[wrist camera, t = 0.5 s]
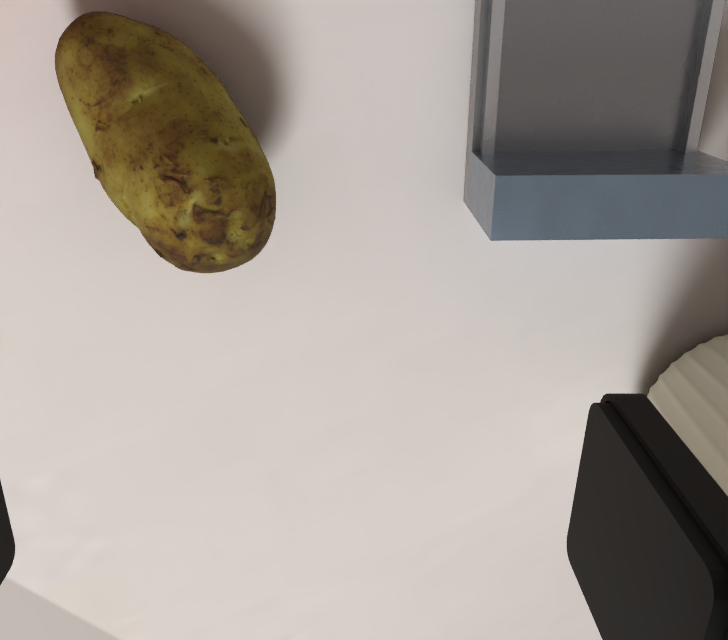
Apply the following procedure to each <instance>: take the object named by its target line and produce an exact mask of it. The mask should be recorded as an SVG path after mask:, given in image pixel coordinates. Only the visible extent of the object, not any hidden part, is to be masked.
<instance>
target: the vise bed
mask: <svg viewBox="0 0 728 640" xmlns="http://www.w3.org/2000/svg"><path fill="white" fill-rule="evenodd" d="M725 1H726V0H475V17H474V34H473V51H472V68H471V85H470V102H469V119H468V136H467V153H466V170H465V188H464V202H465V204H466V205H467V207H468V208H469V210H470V211H471V213H472V214H473V216H474V217H475V218H476V220H477V221H478V223H479V224H480V226H481V227H482V229H483V230H484V232H485V233H486V234H487V236H488V237H489V239H490V240H491V241H496V240H594V239H692V238H728V162H727V161H724V160H721V159H718V158H716V157H713V156H710V155H708V154H705V153H702V152H700V151H697V148H698V143H699V137H700V132H701V127H702V122H703V116H704V111H705V106H706V101H707V95H708V90H709V85H710V80H711V74H712V69H713V64H714V59H715V53H716V48H717V43H718V38H719V32H720V27H721V22H722V17H723V11H724V6H725Z"/></svg>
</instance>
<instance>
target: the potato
mask: <svg viewBox="0 0 728 640" xmlns="http://www.w3.org/2000/svg"><path fill="white" fill-rule="evenodd" d="M55 70H56V75H57V79H58V83H59V86H60V89H61V91H62V94H63V97H64V99H65V102H66V105H67V107H68V110H69V112H70V115H71V117H72V119H73V122H74V124H75V126H76V128H77V130H78V132H79V135H80V137H81V139H82V142H83V144H84V146H85V149H86V151H87V153H88V156H89V158H90V160H91V163H92V165H93V167H94V174H95V178H96V179H98V180H99V181H100V183H101V185H102V187H103V189H104V190H105V192H106V193H107V195H108V197H109V198H110V199H111V201H112V202H113V203H114V204H115V206H116V207H117V208H118V209H119V210H120V211H121V212H122V214H123V215H124V216H125V217H126V218H127V219H128V220H130V221H131V222H132V223H133V224H134V225H135V226H137V227H138V228H139V229H140V231H141V233H142V235H143V236H144V238H145V239H146V241H147V242H148V243H149V245H150V246H151V247H152V248H153V249H154V250H155V251H156V253H157V254H158V255H159V256H160V257H162V258H163V259H165V260H166V261H168V262H169V263H171V264H173V265H174V266H175V267H177V268H179V269H181V270H184V271H191V272H197V273H214V272H222V271H226V270H229V269H232V268H235V267H238V266H240V265H242V264H244V263H246V262H248V261H250V260H252V259H253V258H254V257H255V256H256V255H257V254H259V253H260V251H261V250H262V249H263V248H264V246H265V245H266V243H267V241H268V239H269V237H270V234H271V232H272V229H273V225H274V220H275V212H276V191H275V183H274V178H273V175H272V172H271V169H270V166H269V163H268V161H267V159H266V156H265V155H264V152H263V150H262V148H261V146H260V144H259V142H258V141H257V139H256V137H255V135H254V133H253V131H252V130H251V128H250V126H249V125H248V123H247V122H246V120H245V119H244V117H243V116H242V115H241V113H240V112H239V110H238V109H237V108H236V106H235V105H234V103H233V102H232V100H231V97H230V95H229V94H228V92H227V90H226V89H225V87H224V85H223V84H222V82H221V81H220V80H219V79H218V78H217V76H216V75H215V74H214V73H213V72H212V71H211V70H210V69H209V68H208V66H207V65H206V64H205V63H204V62H203V61H202V60H201V59H200V58H199V57H198V56H197V55H196V54H195V53H194V52H193V51H191V50H190V49H189V48H188V47H187V46H185V45H184V44H183V43H182V42H180V41H179V40H177V39H176V38H174V37H173V36H172V35H170V34H168V33H167V32H164V31H162V30H160V29H157V28H155V27H153V26H150V25H146V24H143V23H140V22H138V21H135V20H132V19H129V18H126V17H123V16H121V15H117V14H112V13H108V12H90V13H86V14H84V15H82V16H80V17H78V18H77V19H75V20H74V21H73V22H72V23H71V24H70V25H69V26H68V27H67V28H66V30H65V31H64V32H63V34H62V35H61V37H60V39H59V42H58V45H57V49H56V53H55Z"/></svg>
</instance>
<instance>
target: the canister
mask: <svg viewBox="0 0 728 640" xmlns="http://www.w3.org/2000/svg"><path fill="white" fill-rule="evenodd" d="M647 398H648V399H649V400H650V401H651V402H652V404H653V405H654V406H655V407H656V409H657V410H658V411H659V412H660V414H661V415H662V416H663V417H664V418H665V420H666V421H667V422H668V423H669V425H670V426H671V427H672V428H673V429H674V431H675V432H676V433H677V434H678V436H679V437H680V438H681V439H682V441H683V442H684V443H685V444H686V445H687V447H688V448H689V449H690V450H691V452H692V453H693V454H694V455H695V456H696V458H697V459H698V460H699V461H700V463H701V464H702V465H703V466H704V468H705V469H706V470H707V471H708V472H709V474H710V475H711V476H712V477H713V479H714V480H715V481H716V482H717V483H718V485H719V486H720V487H721V488H722V490H723V491H724V492H725V493H726V495H727V496H728V334H727V335H724V336H720V337H719V336H718V337H714V338H713V339H711V340H710V341H708V342H706V343H701V344H698V345H697V347H695V348H694V349H692V350H690V351H688V352H685V353H684V354H683V355H682V356H681V357H680V358H679V359H678V360H677V361H675V362H672V363H671V364H670V366H669V368H668V369H667V370H666V371H665V372H663V373H662V374H660V375H659V378H658V380H657V382H656V383H655V384H654V385H653V386H651V387H650V390H649V394H648V395H647Z"/></svg>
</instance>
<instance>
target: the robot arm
mask: <svg viewBox="0 0 728 640" xmlns="http://www.w3.org/2000/svg"><path fill="white" fill-rule="evenodd" d="M567 553H568V558H569V561H570V564H571V566H572V569H573V571H574V573H575V576H576V578H577V580H578V583H579V585H580V588H581V590H582V592H583V595H584V597H585V599H586V602H587V604H588V606H589V609H590V611H591V613H592V616H593V618H594V620H595V623H596V625H597V627H598V630H599V632H600V635H601V637H602V639H603V640H728V496H727V495H726V493H725V492H724V491H723V490H722V488H721V487H720V486H719V485H718V483H717V482H716V481H715V480H714V479H713V477H712V476H711V475H710V474H709V472H708V471H707V470H706V469H705V468H704V466H703V465H702V464H701V463H700V461H699V460H698V459H697V458H696V456H695V455H694V454H693V453H692V452H691V450H690V449H689V448H688V447H687V445H686V444H685V443H684V442H683V441H682V439H681V438H680V437H679V436H678V434H677V433H676V432H675V431H674V429H673V428H672V427H671V426H670V425H669V423H668V422H667V421H666V420H665V418H664V417H663V416H662V415H661V414H660V412H659V411H658V410H657V409H656V407H655V406H654V405H653V404H652V402H651V401H650V400H649V399H648V398H647V397H646V396H645V395H644V394H605V395H604V396H603V398H602V399H601V402H600V403H593V404H592V405H591V407H590V410H589V414H588V420H587V425H586V431H585V437H584V443H583V449H582V454H581V460H580V466H579V472H578V477H577V483H576V489H575V495H574V500H573V506H572V512H571V518H570V524H569V529H568V535H567ZM14 555H15V542H14V537H13V533H12V529H11V524H10V520H9V516H8V511H7V507H6V503H5V499H4V494H3V490H2V486H1V481H0V585H1V583H2V581H3V580H4V578H5V576H6V575H7V573H8V571H9V570H10V568H11V566H12V563H13V560H14Z"/></svg>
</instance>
